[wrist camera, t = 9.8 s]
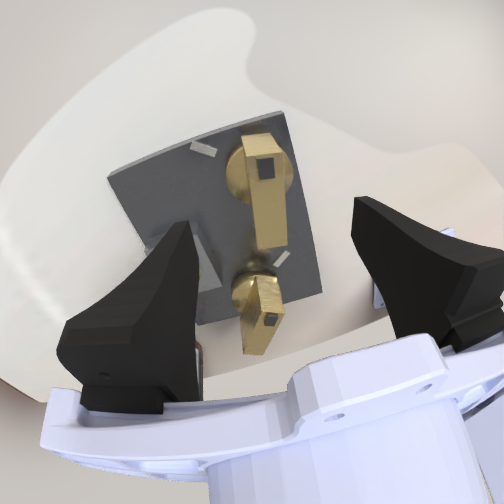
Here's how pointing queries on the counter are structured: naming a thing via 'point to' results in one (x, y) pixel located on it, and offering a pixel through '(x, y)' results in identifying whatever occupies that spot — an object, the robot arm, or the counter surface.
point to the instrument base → (219, 215)
